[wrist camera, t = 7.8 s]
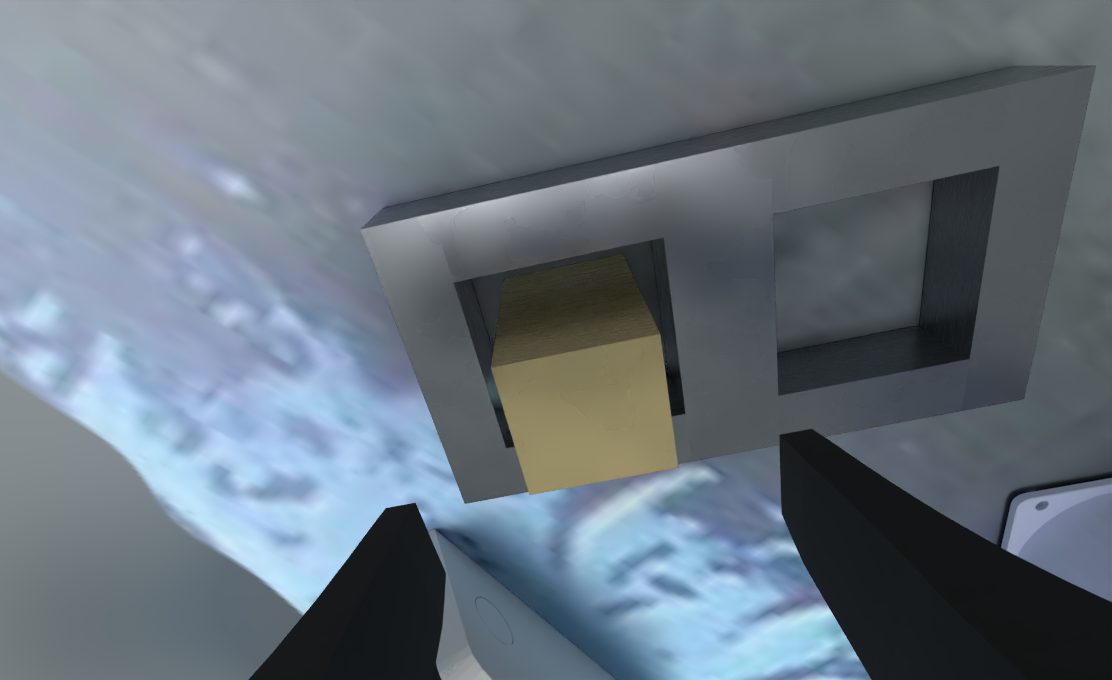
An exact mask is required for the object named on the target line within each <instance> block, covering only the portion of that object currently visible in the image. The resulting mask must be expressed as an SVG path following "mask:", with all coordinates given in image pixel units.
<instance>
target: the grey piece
mask: <svg viewBox="0 0 1112 680" xmlns="http://www.w3.org/2000/svg"><path fill="white" fill-rule="evenodd" d="M428 533H429V535H430V538H431V540H432V542H433V544H434V547H435V549H436V551H437V554H438V556H439V558H440V560H441V563H442V565H443V567H444V570H445V572H446V584H445V602H444V614H443V626H442V632H441V637H440V643H439V648H438V654H437V659H436V665H435V670H434V675H433V680H616V679H615V678H614V677H612V676H611V675H610V674H609V673H608V672H606V671H605V670H604V669H603V668H602V667H600V666H599V665H598V664H597V663H596V662H594V661H593V660H592V659H591V658H590V657H588V656H587V655H586V654H585V653H584V652H582V651H581V650H580V649H579V648H578V647H576V646H575V645H574V644H573V643H571V642H570V641H569V640H568V639H567V638H565V637H564V636H563V635H562V634H561V633H559V632H558V631H557V630H556V629H555V628H553V627H552V626H551V625H550V624H549V623H547V622H546V621H545V620H544V619H543V618H541V617H540V616H539V615H538V614H537V613H535V612H534V611H533V610H532V609H531V608H529V607H528V606H527V605H526V604H525V603H523V602H522V601H521V600H520V599H519V598H517V597H516V596H515V595H514V594H512V593H511V592H510V591H509V590H508V589H506V588H505V587H504V586H503V585H502V584H500V583H499V582H498V581H497V580H496V579H494V578H493V577H492V576H491V575H490V574H488V573H487V572H486V571H485V570H484V569H482V568H481V567H480V566H479V565H478V564H476V563H475V562H474V561H473V560H472V559H470V558H469V557H468V556H467V555H466V554H464V553H463V552H462V551H461V550H459V549H458V548H457V547H456V546H455V545H453V544H452V543H451V542H450V541H449V540H447V539H446V538H445V537H444V536H443V535H441V534H440V533H439V532H438V531H437V530H435V529H433V530H430V531H428Z"/></svg>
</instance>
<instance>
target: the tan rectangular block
mask: <svg viewBox="0 0 1112 680" xmlns="http://www.w3.org/2000/svg"><path fill="white" fill-rule="evenodd" d="M491 370H492V373H493V376H494V380H495V383H496V386H497V389H498V393H499V396H500V399H501V403H502V406H503V409H504V413H505V416H506V419H507V422H508V426H509V429H510V432H511V436H512V439H513V442H514V445H515V449H516V452H517V455H518V459H519V462H520V465H521V468H522V472H523V475H524V478H525V482H526V485H527V488H528V492H529V495H532V494H538V493H543V492H548V491H554V490H559V489H565V488H570V487H576V486H581V485H586V484H592V483H597V482H603V481H608V480H614V479H619V478H624V477H630V476H635V475H641V474H646V473H652V472H657V471H662V470H668V469H673V468H678V462H677V454H676V447H675V439H674V432H673V425H672V417H671V410H670V402H669V395H668V388H667V380H666V373H665V365H664V358H663V351H662V343H661V336H660V332H659V330H658V328H657V326H656V324H655V322H654V319H653V317H652V315H651V313H650V311H649V309H648V307H647V305H646V302H645V300H644V298H643V296H642V294H641V292H640V290H639V287H638V285H637V283H636V281H635V279H634V277H633V275H632V272H631V270H630V268H629V266H628V264H627V262H626V260H625V257H624V255H623V254H619V255H614V256H609V257H604V258H600V259H595V260H590V261H585V262H581V263H576V264H571V265H566V266H562V267H557V268H552V269H547V270H543V271H538V272H533V273H528V274H524V275H519V276H514V277H509V278H505V279H504V282H503V289H502V296H501V303H500V310H499V316H498V323H497V330H496V337H495V344H494V350H493V357H492V364H491Z"/></svg>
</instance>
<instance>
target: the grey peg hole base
mask: <svg viewBox="0 0 1112 680" xmlns="http://www.w3.org/2000/svg"><path fill="white" fill-rule="evenodd" d="M1095 68H1096V66H1013V67H1008V68H1004V69H1000V70H995V71H991V72H986V73H982V74H977V75H973V76H968V77H964V78H960V79H955V80H951V81H946V82H942V83H937V84H933V85H928V86H924V87H919V88H915V89H911V90H906V91H902V92H897V93H893V94H888V95H884V96H879V97H875V98H871V99H866V100H862V101H857V102H853V103H848V104H844V105H839V106H835V107H830V108H826V109H822V110H817V111H813V112H808V113H804V114H799V115H795V116H790V117H786V118H782V119H777V120H773V121H768V122H764V123H759V124H755V125H750V126H746V127H741V128H737V129H733V130H728V131H724V132H719V133H715V134H710V135H706V136H701V137H697V138H693V139H688V140H684V141H679V142H675V143H670V144H666V145H661V146H657V147H652V148H648V149H644V150H639V151H635V152H630V153H626V154H621V155H617V156H612V157H608V158H604V159H599V160H595V161H590V162H586V163H581V164H577V165H572V166H568V167H564V168H559V169H555V170H550V171H546V172H541V173H537V174H532V175H528V176H523V177H519V178H515V179H510V180H506V181H501V182H497V183H492V184H488V185H483V186H479V187H475V188H470V189H466V190H461V191H457V192H452V193H448V194H443V195H439V196H434V197H430V198H426V199H421V200H417V201H412V202H408V203H403V204H399V205H394V206H390V207H386V208H383V209H382V210H381V211H380V212H378V213H377V214H376V215H375V216H374V217H373V218H372V219H371V220H370V221H369V222H368V223H367V224H366V225H364V226H363V227H362V228H361V229H360V231H361V233H362V236H363V239H364V241H365V244H366V246H367V249H368V252H369V254H370V257H371V260H372V262H373V265H374V267H375V270H376V273H377V275H378V278H379V280H380V283H381V286H382V288H383V291H384V294H385V296H386V299H387V301H388V304H389V307H390V309H391V312H392V314H393V317H394V320H395V322H396V325H397V328H398V330H399V333H400V335H401V338H402V341H403V343H404V346H405V348H406V351H407V354H408V356H409V359H410V362H411V364H412V367H413V369H414V372H415V375H416V377H417V380H418V382H419V385H420V388H421V390H422V393H423V396H424V398H425V401H426V403H427V406H428V409H429V411H430V414H431V416H432V419H433V422H434V424H435V427H436V430H437V432H438V435H439V437H440V440H441V443H442V445H443V448H444V450H445V453H446V456H447V458H448V461H449V464H450V466H451V469H452V471H453V474H454V477H455V479H456V482H457V484H458V487H459V490H460V492H461V495H462V498H463V500H464V503H465V504H466V503H472V502H477V501H482V500H488V499H493V498H498V497H504V496H509V495H514V494H520V493H525V492H528V488H527V485H526V482H525V478H524V475H523V472H522V468H521V465H520V462H519V459H518V455H517V452H516V449H515V445H514V442H513V439H512V436H511V432H510V429H509V426H508V422H507V419H506V416H505V413H504V409H503V406H502V403H501V399H500V396H499V393H498V389H497V386H496V383H495V380H494V376H493V373H492V370H491V364H492V357H493V350H492V347H491V344H490V340H489V337H488V334H487V330H486V327H485V324H484V320H483V317H482V314H481V310H480V307H479V304H478V300H477V297H476V294H475V290H474V287H473V284H472V280H471V279H473V278H477V277H482V276H487V275H491V274H496V273H501V272H505V271H510V270H515V269H519V268H524V267H529V266H533V265H538V264H543V263H547V262H552V261H557V260H561V259H566V258H571V257H575V256H580V255H585V254H589V253H594V252H599V251H604V250H608V249H613V248H618V247H622V246H627V245H632V244H636V243H641V242H646V241H650V240H651V248H652V255H653V263H654V270H655V277H656V285H657V292H658V299H659V307H660V314H661V322H662V329H663V336H664V344H665V351H666V358H667V366H668V373H669V375H666V380H667V388H668V395H669V402H670V410H671V417H672V425H673V432H674V439H675V447H676V454H677V462H678V464H680V463H685V462H691V461H696V460H702V459H707V458H712V457H718V456H723V455H728V454H734V453H739V452H744V451H750V450H755V449H760V448H766V447H771V446H776V445H780V438H779V435H780V434H786V433H791V432H797V431H802V430H807V429H813V430H815V431H816V432H818V433H819V434H821V435H822V436H823V437H824V436H830V435H835V434H840V433H846V432H851V431H857V430H862V429H867V428H873V427H878V426H883V425H889V424H894V423H899V422H905V421H910V420H915V419H921V418H926V417H931V416H937V415H942V414H947V413H953V412H958V411H963V410H969V409H974V408H979V407H985V406H990V405H995V404H1001V403H1006V402H1012V401H1017V400H1022V399H1024V397H1025V392H1026V388H1027V383H1028V378H1029V374H1030V369H1031V365H1032V360H1033V355H1034V351H1035V346H1036V341H1037V337H1038V332H1039V327H1040V323H1041V318H1042V314H1043V309H1044V304H1045V300H1046V295H1047V290H1048V286H1049V281H1050V276H1051V272H1052V267H1053V263H1054V258H1055V253H1056V249H1057V244H1058V239H1059V235H1060V230H1061V225H1062V221H1063V216H1064V212H1065V207H1066V202H1067V198H1068V193H1069V188H1070V184H1071V179H1072V174H1073V170H1074V165H1075V161H1076V156H1077V151H1078V147H1079V142H1080V137H1081V133H1082V128H1083V123H1084V119H1085V114H1086V110H1087V105H1088V100H1089V96H1090V91H1091V86H1092V82H1093V77H1094V73H1095ZM931 180H934V190H933V200H932V209H931V219H930V229H929V238H928V248H927V258H926V267H925V277H924V286H923V296H922V306H921V315H920V325H919V326H914V327H909V328H904V329H899V330H894V331H889V332H883V333H878V334H873V335H868V336H863V337H858V338H853V339H848V340H843V341H838V342H833V343H828V344H823V345H818V346H813V347H808V348H803V349H798V350H792V351H787V352H782V353H777V336H776V302H775V268H774V234H773V214H776V213H781V212H786V211H791V210H795V209H800V208H805V207H809V206H814V205H819V204H823V203H828V202H833V201H837V200H842V199H847V198H851V197H856V196H861V195H865V194H870V193H875V192H879V191H884V190H889V189H893V188H898V187H903V186H907V185H912V184H917V183H921V182H926V181H931Z"/></svg>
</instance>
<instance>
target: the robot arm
mask: <svg viewBox="0 0 1112 680" xmlns="http://www.w3.org/2000/svg"><path fill="white" fill-rule="evenodd" d="M779 438H780V471H781V504H782V515H783V518H784V520H785V522H786V525H787V527H788V529H789V532H790V534H791V536H792V539H793V541H794V543H795V545H796V548H797V550H798V552H799V554H800V556H801V559H802V561H803V563H804V565H805V567H806V568H807V570H808V572H809V574H810V575H811V577H812V579H813V581H814V582H815V584H816V586H817V588H818V589H819V591H820V593H821V594H822V596H823V598H824V600H825V601H826V603H827V605H828V606H829V608H830V610H831V612H832V613H833V615H834V617H835V618H836V620H837V622H838V623H839V625H840V627H841V628H842V630H843V632H844V634H845V635H846V637H847V639H848V640H849V642H850V644H851V645H852V647H853V649H854V651H855V652H856V654H857V656H858V657H859V659H860V661H861V662H862V664H863V666H864V668H865V669H866V671H867V673H868V674H869V676H870V678H871V679H872V680H1112V478H1108V479H1102V480H1096V481H1091V482H1085V483H1079V484H1074V485H1068V486H1062V487H1057V488H1051V489H1045V490H1040V491H1034V492H1028V493H1023V494H1020V495H1018V496H1016V497H1015V498H1014V499H1013V500H1012V502H1011V506H1010V510H1009V515H1008V519H1007V523H1006V528H1005V532H1004V537H1003V541H1002V545H1001V547H999V546H997V545H995V544H993V543H992V542H990V541H988V540H986V539H984V538H982V537H981V536H979V535H977V534H976V533H974V532H972V531H970V530H969V529H967V528H965V527H963V526H962V525H960V524H958V523H956V522H955V521H953V520H951V519H949V518H948V517H946V516H944V515H943V514H941V513H939V512H938V511H936V510H934V509H933V508H931V507H929V506H928V505H926V504H924V503H923V502H921V501H920V500H918V499H917V498H915V497H913V496H912V495H910V494H909V493H907V492H906V491H904V490H902V489H901V488H899V487H898V486H896V485H895V484H893V483H891V482H890V481H888V480H887V479H885V478H884V477H882V476H881V475H879V474H878V473H876V472H875V471H873V470H872V469H870V468H869V467H867V466H866V465H864V464H863V463H862V462H860V461H859V460H857V459H856V458H854V457H853V456H851V455H850V454H848V453H847V452H845V451H844V450H842V449H841V448H840V447H838V446H837V445H835V444H834V443H832V442H831V441H829V440H828V439H826V438H825V437H823V436H822V435H821V434H819V433H818V432H816V431H815V430H813V429H807V430H802V431H797V432H791V433H786V434H780V435H779ZM445 584H446V572H445V570H444V567H443V565H442V563H441V560H440V558H439V556H438V554H437V551H436V549H435V547H434V544H433V542H432V540H431V538H430V535H429V533H428V531H427V528H426V526H425V524H424V521H423V519H422V517H421V515H420V512H419V510H418V508H417V505H416V503H411V504H406V505H401V506H395V507H390V508H386V509H385V510H384V512H383V513H382V514H381V515H380V517H379V518H378V519H377V521H376V522H375V523H374V524H373V526H372V527H371V528H370V530H369V531H368V532H367V534H366V535H365V536H364V538H363V539H362V541H361V542H360V543H359V545H358V546H357V547H356V549H355V550H354V551H353V553H352V554H351V555H350V557H349V558H348V559H347V561H346V562H345V563H344V565H343V566H342V567H341V568H340V570H339V571H338V572H337V574H336V575H335V576H334V578H333V579H332V580H331V581H330V583H329V584H328V585H327V587H326V588H325V589H324V591H323V592H322V593H321V595H320V596H319V597H318V598H317V600H316V601H315V602H314V603H313V605H312V606H311V607H310V608H309V609H308V611H307V612H306V613H305V614H304V615H303V617H302V618H301V619H300V620H299V622H298V623H297V624H296V625H295V626H294V628H293V629H292V630H291V631H290V632H289V634H288V635H287V636H286V637H285V638H284V640H283V641H282V642H281V643H280V644H279V646H278V647H277V648H276V649H275V650H274V652H273V653H272V654H271V655H270V656H269V657H268V659H267V660H266V661H265V662H264V663H263V664H262V665H261V666H260V668H259V669H258V670H257V671H256V672H255V673H254V674H253V676H251V677H250V679H249V680H433V675H434V670H435V665H436V659H437V654H438V648H439V643H440V637H441V632H442V626H443V614H444V602H445Z"/></svg>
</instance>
